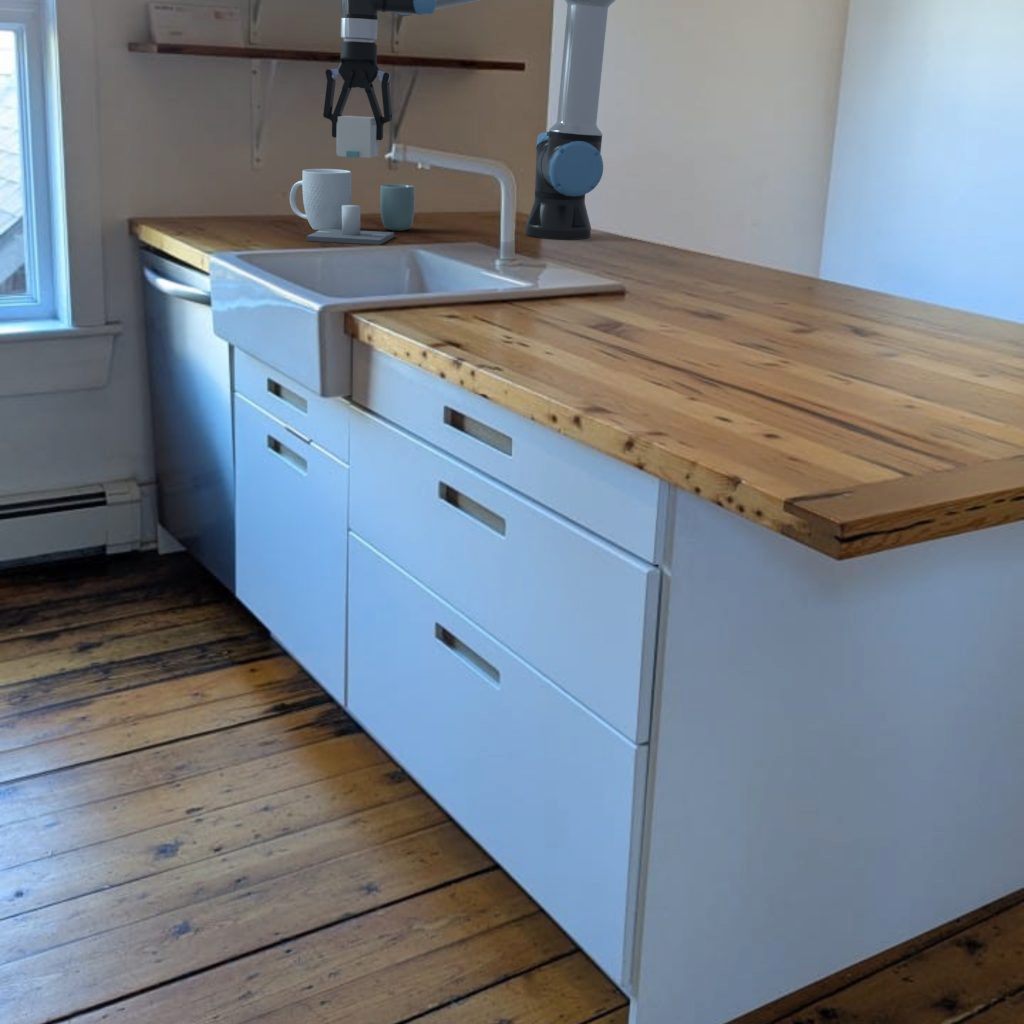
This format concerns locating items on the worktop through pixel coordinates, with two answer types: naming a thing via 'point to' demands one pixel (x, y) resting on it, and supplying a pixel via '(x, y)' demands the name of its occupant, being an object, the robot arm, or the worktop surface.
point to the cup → (397, 206)
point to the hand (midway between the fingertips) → (357, 154)
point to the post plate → (350, 238)
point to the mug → (323, 197)
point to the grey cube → (355, 136)
